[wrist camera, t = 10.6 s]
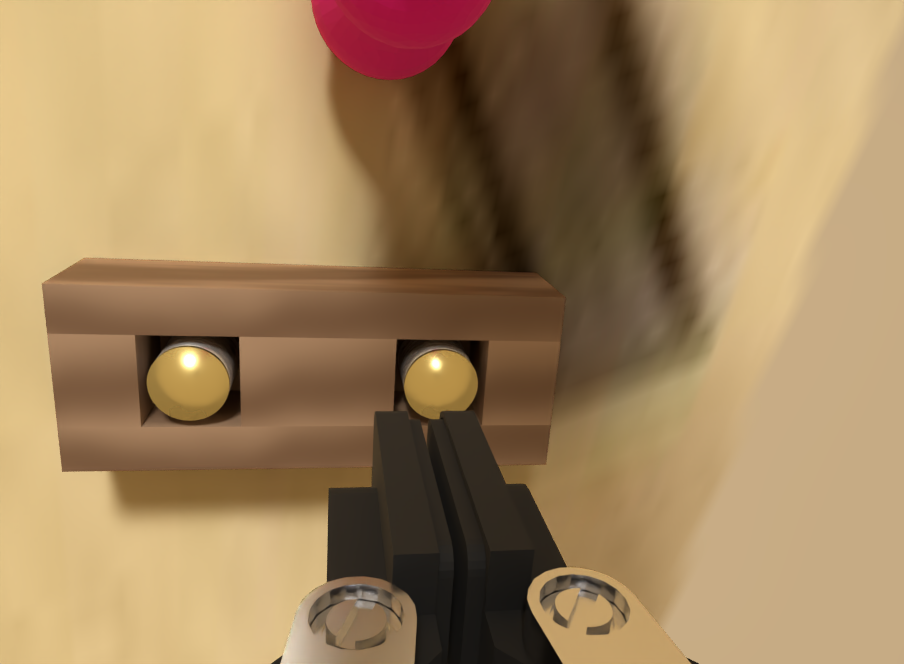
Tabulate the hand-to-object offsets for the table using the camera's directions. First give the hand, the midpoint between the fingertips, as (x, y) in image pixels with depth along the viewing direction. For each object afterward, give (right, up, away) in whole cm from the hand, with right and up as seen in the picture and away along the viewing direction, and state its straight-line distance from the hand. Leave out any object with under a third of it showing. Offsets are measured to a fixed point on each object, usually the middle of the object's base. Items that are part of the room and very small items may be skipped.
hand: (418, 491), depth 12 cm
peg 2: (-1, +1, +30) cm, 30 cm away
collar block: (-7, +2, +31) cm, 32 cm away
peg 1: (-14, +1, +28) cm, 31 cm away
